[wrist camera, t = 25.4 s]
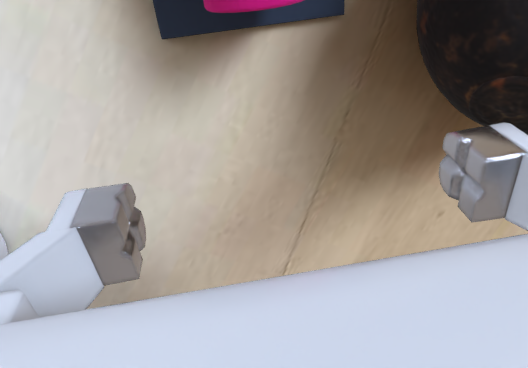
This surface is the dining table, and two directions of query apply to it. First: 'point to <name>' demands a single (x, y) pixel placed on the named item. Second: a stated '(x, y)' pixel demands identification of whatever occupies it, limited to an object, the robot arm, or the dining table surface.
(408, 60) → the dining table surface
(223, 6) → the pepper mill
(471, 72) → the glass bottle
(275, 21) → the mat
